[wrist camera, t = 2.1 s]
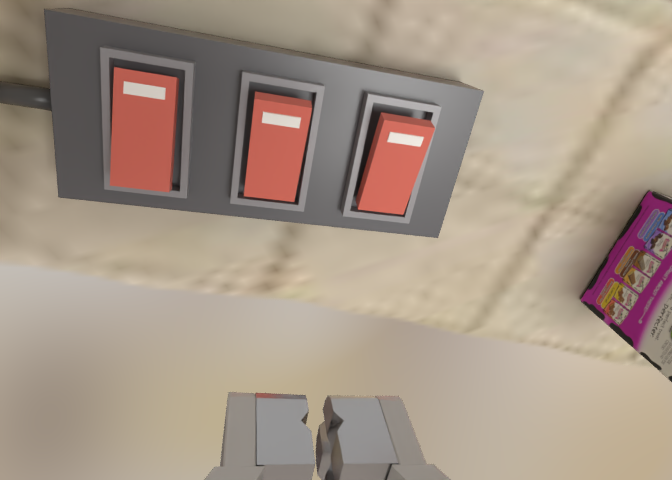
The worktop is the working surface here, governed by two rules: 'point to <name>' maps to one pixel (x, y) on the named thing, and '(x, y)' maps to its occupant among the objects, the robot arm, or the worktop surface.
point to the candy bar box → (640, 283)
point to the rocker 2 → (276, 146)
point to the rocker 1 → (143, 130)
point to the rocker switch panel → (243, 122)
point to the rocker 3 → (393, 163)
